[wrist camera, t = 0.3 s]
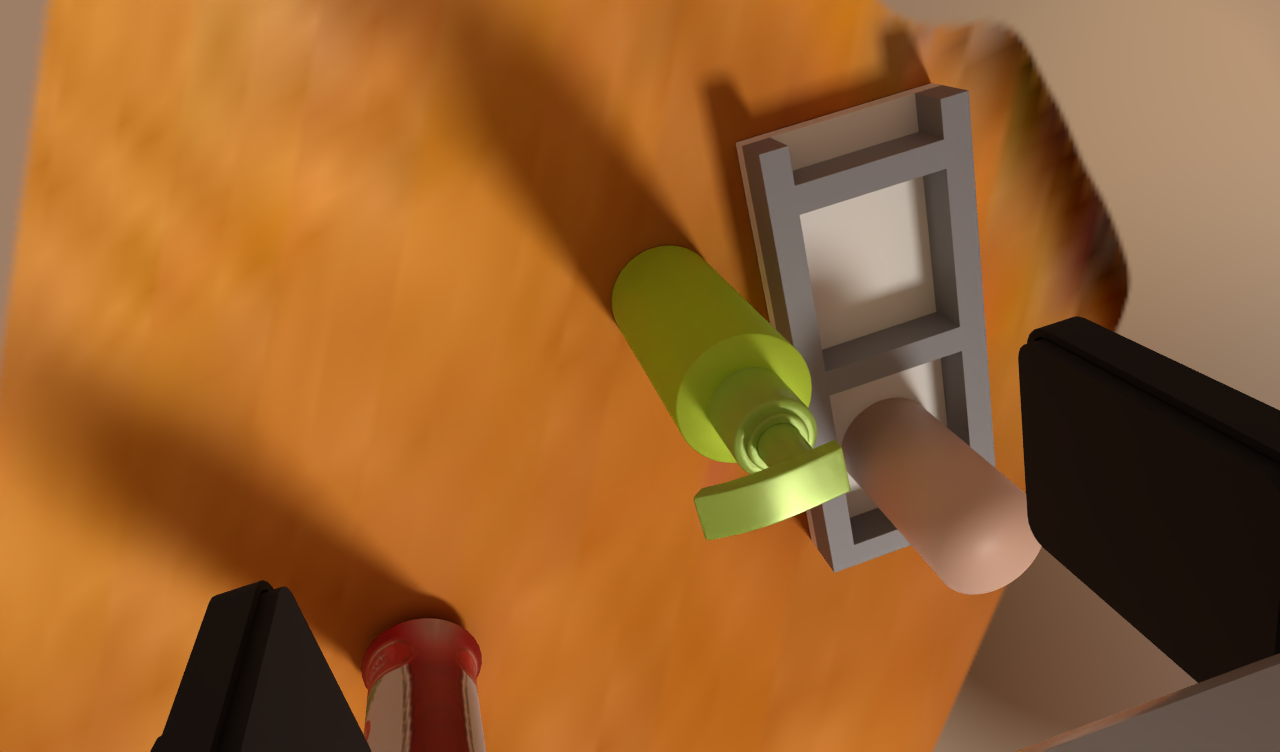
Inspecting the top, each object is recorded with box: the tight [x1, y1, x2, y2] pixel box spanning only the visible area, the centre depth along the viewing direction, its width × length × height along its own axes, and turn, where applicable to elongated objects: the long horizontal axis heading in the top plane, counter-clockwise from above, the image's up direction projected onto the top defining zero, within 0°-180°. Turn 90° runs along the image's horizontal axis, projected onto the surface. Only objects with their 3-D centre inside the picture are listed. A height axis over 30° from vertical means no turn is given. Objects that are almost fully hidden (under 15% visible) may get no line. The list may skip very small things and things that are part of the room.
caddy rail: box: [736, 83, 1041, 594], centre depth 47 cm, size 26×11×12 cm, turn 14°
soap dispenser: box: [612, 245, 851, 540], centre depth 39 cm, size 6×7×20 cm
